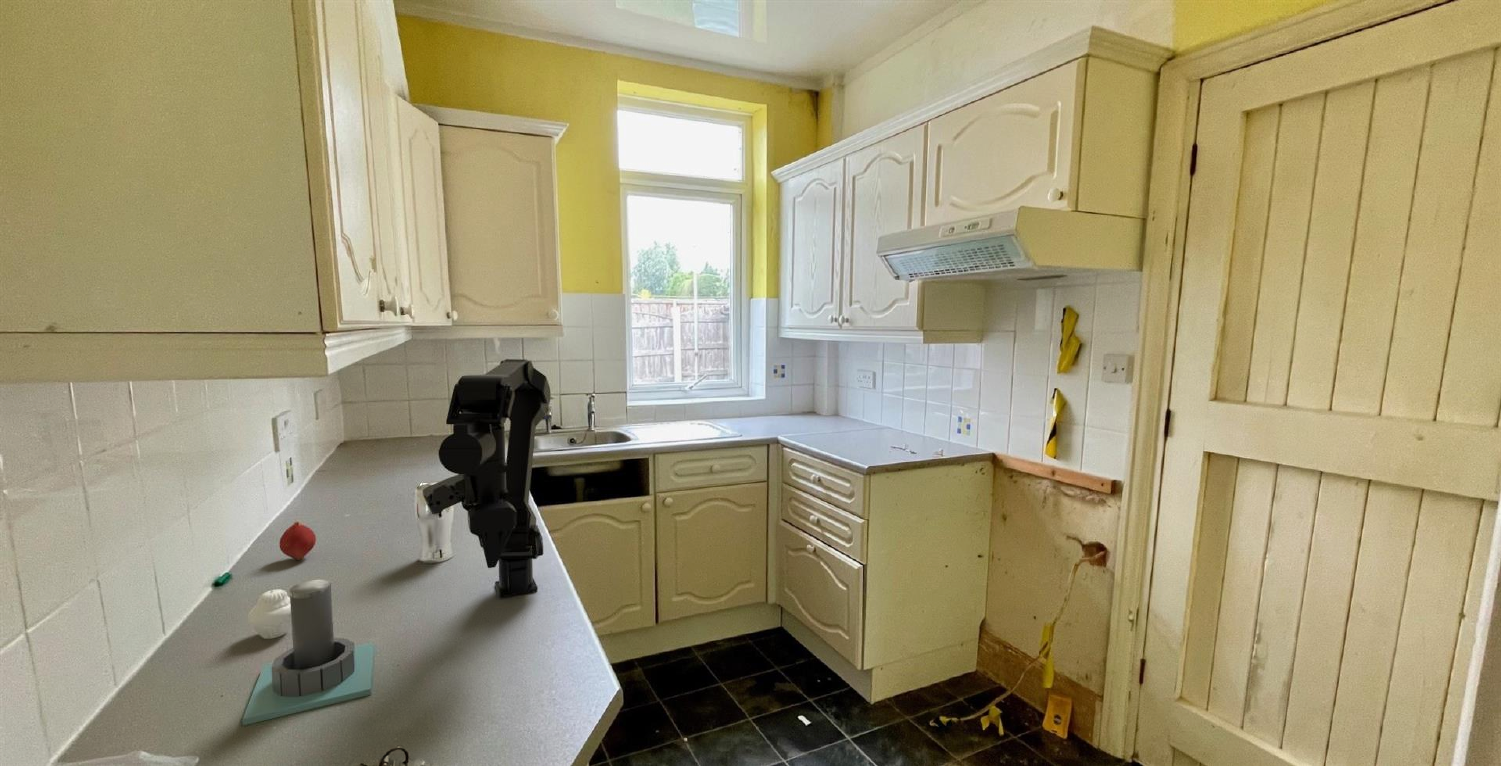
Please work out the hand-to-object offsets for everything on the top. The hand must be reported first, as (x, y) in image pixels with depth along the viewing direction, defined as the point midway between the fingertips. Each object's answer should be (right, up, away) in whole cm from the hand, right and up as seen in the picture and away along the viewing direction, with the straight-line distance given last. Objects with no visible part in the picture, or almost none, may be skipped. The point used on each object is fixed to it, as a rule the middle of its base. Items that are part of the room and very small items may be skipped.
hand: (487, 556), depth 95 cm
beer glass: (-23, -9, +29) cm, 38 cm away
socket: (-17, -13, -13) cm, 25 cm away
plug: (-17, -12, -13) cm, 25 cm away
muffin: (-32, -12, -1) cm, 34 cm away
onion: (-49, -9, +27) cm, 57 cm away
